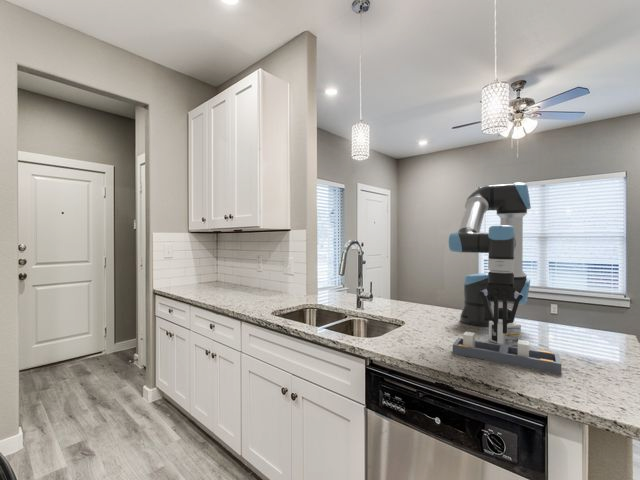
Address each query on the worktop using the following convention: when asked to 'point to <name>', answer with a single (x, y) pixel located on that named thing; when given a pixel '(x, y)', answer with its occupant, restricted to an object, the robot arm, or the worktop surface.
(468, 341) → the tab
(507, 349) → the tray
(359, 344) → the worktop surface
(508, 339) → the container
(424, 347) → the worktop surface
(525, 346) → the tab
